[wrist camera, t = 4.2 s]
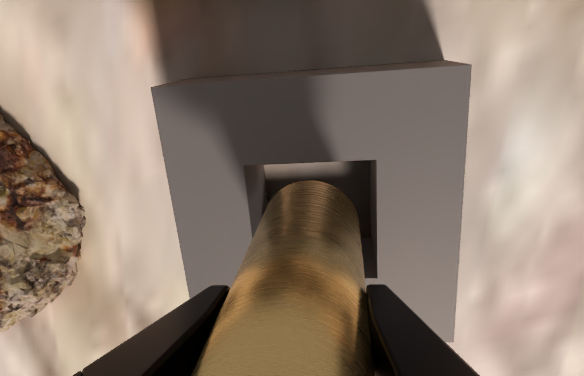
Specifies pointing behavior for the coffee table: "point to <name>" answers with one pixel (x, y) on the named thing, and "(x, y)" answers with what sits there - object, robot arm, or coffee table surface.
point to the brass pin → (296, 293)
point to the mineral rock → (33, 230)
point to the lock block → (325, 148)
